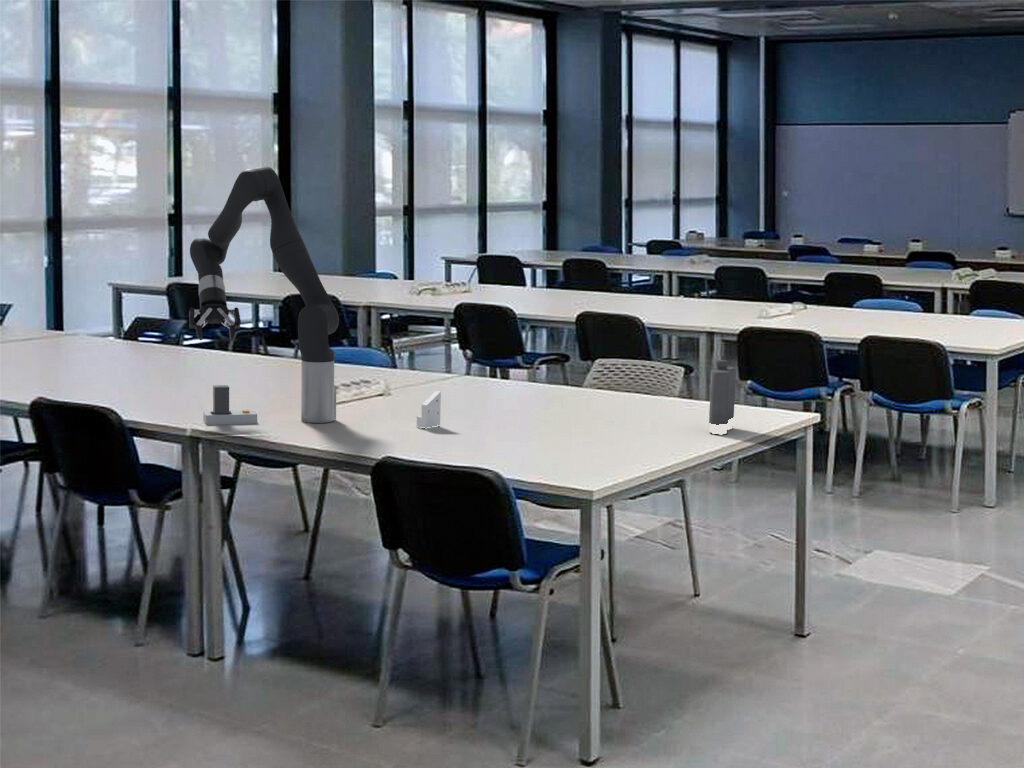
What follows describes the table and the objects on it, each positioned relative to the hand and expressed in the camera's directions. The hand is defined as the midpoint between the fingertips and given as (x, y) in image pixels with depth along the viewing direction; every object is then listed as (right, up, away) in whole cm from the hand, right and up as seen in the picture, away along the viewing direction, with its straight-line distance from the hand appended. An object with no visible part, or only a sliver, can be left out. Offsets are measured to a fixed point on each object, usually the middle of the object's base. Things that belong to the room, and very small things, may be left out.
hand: (216, 338), depth 428 cm
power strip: (+5, -24, -6) cm, 25 cm away
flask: (+142, -26, 0) cm, 145 cm away
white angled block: (+60, -25, -5) cm, 65 cm away
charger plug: (+3, -23, -7) cm, 24 cm away
